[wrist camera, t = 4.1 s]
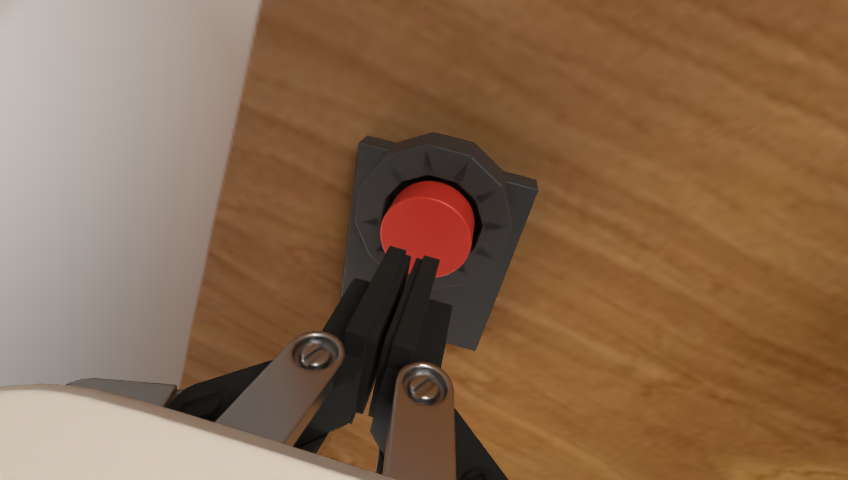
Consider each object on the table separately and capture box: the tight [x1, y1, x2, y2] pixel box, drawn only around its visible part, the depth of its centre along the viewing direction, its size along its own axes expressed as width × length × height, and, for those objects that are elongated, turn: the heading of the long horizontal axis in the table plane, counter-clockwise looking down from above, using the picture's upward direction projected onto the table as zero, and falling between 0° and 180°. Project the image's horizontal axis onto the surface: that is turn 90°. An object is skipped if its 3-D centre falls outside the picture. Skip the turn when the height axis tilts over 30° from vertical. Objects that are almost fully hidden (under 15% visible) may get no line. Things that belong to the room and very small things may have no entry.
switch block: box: [340, 133, 538, 351], centre depth 19 cm, size 11×8×3 cm
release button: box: [380, 181, 475, 278], centre depth 16 cm, size 4×4×2 cm
